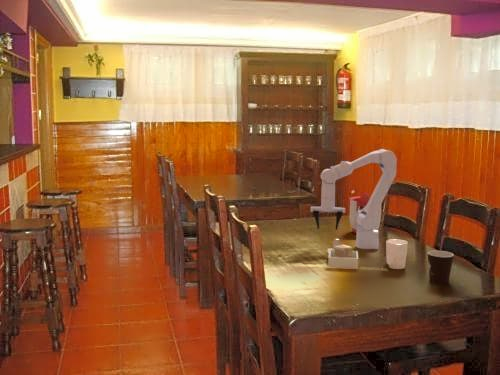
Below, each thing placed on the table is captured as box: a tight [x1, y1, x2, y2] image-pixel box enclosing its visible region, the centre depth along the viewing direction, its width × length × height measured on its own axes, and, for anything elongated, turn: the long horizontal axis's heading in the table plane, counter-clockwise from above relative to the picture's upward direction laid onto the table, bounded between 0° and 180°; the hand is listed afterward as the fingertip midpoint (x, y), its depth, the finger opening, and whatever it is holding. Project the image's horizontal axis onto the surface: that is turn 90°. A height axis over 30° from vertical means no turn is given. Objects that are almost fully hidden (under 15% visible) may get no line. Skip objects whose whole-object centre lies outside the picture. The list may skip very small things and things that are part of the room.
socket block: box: [335, 244, 353, 258], centre depth 208 cm, size 5×5×6 cm
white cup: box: [385, 238, 409, 270], centre depth 205 cm, size 8×8×10 cm
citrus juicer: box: [349, 192, 383, 234], centre depth 260 cm, size 16×17×20 cm
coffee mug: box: [427, 250, 455, 285], centre depth 189 cm, size 12×9×10 cm
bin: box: [327, 250, 359, 270], centre depth 209 cm, size 11×11×4 cm
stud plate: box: [327, 238, 340, 254], centre depth 224 cm, size 7×7×6 cm
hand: (327, 228), depth 228 cm, fingers open, 7 cm apart
